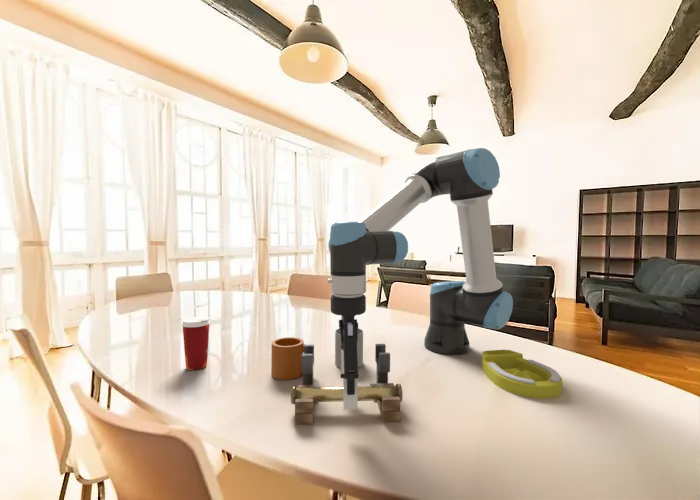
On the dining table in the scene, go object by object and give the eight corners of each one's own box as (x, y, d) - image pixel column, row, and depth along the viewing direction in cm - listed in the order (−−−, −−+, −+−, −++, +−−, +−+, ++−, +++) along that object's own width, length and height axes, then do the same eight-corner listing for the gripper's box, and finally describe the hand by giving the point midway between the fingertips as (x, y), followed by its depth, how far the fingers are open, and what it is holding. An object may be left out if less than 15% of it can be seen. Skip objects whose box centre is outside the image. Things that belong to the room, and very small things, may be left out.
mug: (302, 385, 82) (302, 350, 82) (264, 376, 87) (264, 344, 87) (319, 371, 91) (319, 340, 90) (283, 364, 95) (283, 335, 95)
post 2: (389, 386, 82) (389, 343, 81) (395, 401, 75) (395, 354, 74) (369, 387, 82) (370, 343, 81) (373, 401, 74) (374, 354, 74)
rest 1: (314, 405, 73) (314, 384, 72) (312, 425, 65) (312, 402, 64) (298, 405, 72) (298, 384, 72) (294, 426, 64) (294, 402, 64)
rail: (400, 402, 71) (398, 385, 73) (403, 400, 68) (401, 382, 70) (291, 405, 70) (293, 387, 72) (290, 402, 67) (291, 384, 69)
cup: (360, 370, 92) (360, 336, 91) (332, 368, 93) (332, 334, 93) (364, 359, 100) (364, 328, 99) (339, 357, 102) (339, 326, 101)
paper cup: (216, 363, 96) (216, 317, 95) (194, 373, 89) (194, 323, 88) (198, 359, 99) (197, 314, 98) (175, 368, 92) (174, 320, 91)
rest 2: (392, 403, 74) (393, 382, 73) (400, 423, 66) (400, 400, 66) (377, 403, 73) (377, 382, 73) (383, 424, 65) (383, 400, 65)
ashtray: (519, 364, 98) (519, 348, 98) (578, 398, 77) (579, 378, 77) (469, 368, 95) (470, 351, 95) (518, 404, 74) (518, 383, 74)
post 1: (318, 388, 81) (319, 344, 80) (317, 403, 73) (318, 355, 73) (299, 388, 80) (299, 344, 80) (295, 403, 73) (296, 355, 73)
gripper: (330, 285, 80) (331, 367, 81) (330, 307, 55) (331, 426, 56) (360, 284, 81) (360, 366, 82) (373, 307, 56) (373, 424, 57)
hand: (348, 391), depth 69 cm, fingers open, 13 cm apart
